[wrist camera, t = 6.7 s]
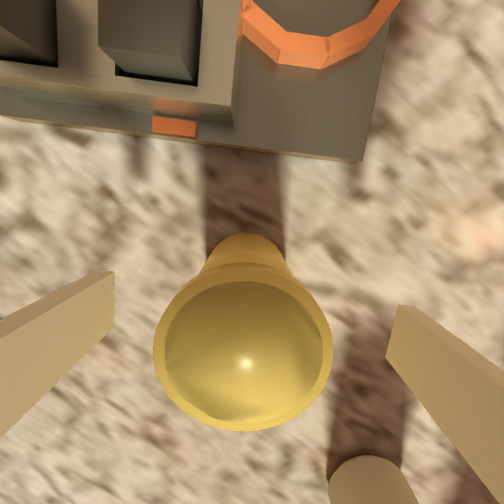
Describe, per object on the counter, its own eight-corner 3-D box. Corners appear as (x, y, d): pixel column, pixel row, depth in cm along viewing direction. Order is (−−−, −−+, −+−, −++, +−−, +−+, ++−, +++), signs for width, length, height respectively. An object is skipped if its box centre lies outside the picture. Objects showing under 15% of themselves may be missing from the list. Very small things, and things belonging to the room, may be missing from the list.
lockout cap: (198, 307, 20) (149, 423, 10) (205, 222, 18) (156, 260, 9) (283, 316, 20) (316, 438, 10) (296, 233, 19) (349, 281, 9)
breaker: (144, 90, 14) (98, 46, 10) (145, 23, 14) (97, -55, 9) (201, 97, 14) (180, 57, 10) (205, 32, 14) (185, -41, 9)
